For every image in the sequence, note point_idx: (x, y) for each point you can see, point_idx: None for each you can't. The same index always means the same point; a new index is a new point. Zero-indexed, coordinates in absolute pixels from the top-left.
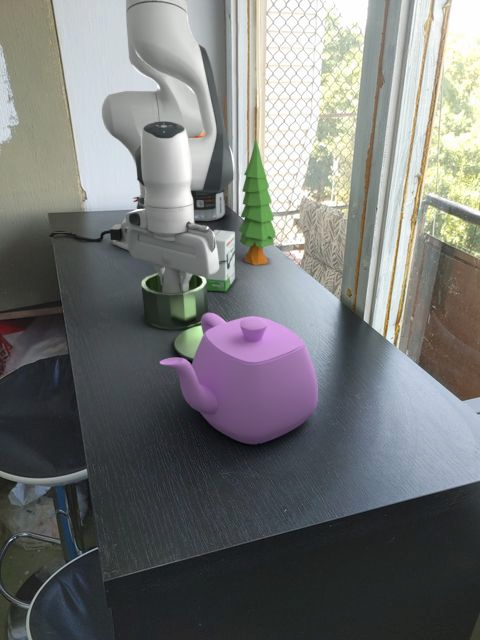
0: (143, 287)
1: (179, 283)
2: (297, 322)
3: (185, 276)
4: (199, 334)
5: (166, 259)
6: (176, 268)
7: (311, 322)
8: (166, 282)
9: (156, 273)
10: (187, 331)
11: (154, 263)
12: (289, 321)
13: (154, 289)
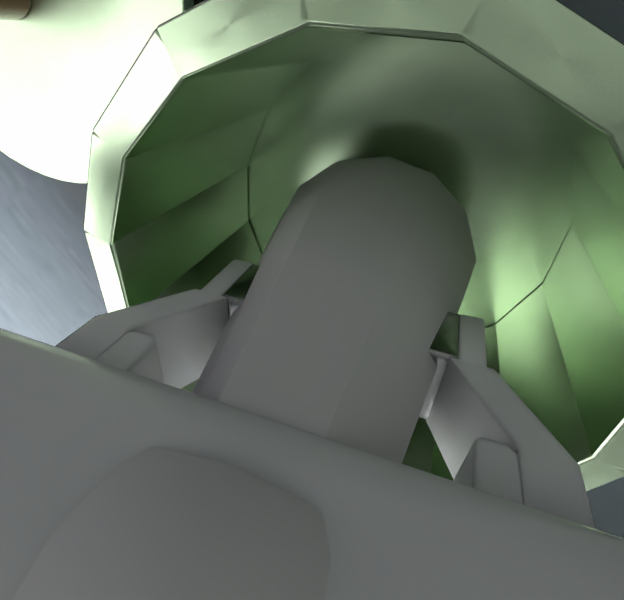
0: (619, 47)
1: (236, 297)
2: (35, 319)
3: (92, 320)
4: (96, 9)
5: (138, 536)
6: (89, 375)
7: (17, 329)
8: (346, 273)
9: (611, 472)
10: (165, 3)
11: (571, 526)
12: (52, 319)
13: (586, 328)
